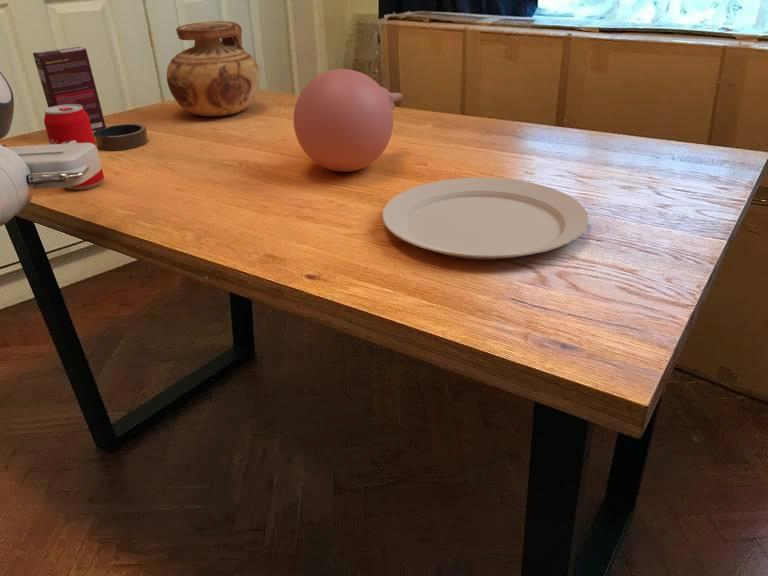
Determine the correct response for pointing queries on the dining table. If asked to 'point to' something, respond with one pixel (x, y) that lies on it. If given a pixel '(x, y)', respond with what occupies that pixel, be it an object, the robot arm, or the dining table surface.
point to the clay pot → (213, 70)
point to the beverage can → (71, 132)
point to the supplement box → (70, 81)
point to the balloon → (344, 119)
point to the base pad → (120, 137)
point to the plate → (485, 218)
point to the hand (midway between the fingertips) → (36, 148)
